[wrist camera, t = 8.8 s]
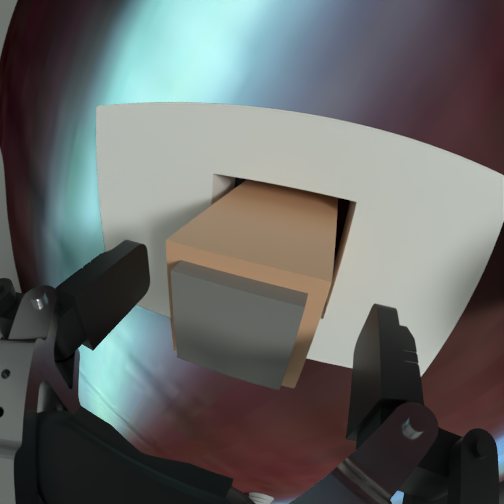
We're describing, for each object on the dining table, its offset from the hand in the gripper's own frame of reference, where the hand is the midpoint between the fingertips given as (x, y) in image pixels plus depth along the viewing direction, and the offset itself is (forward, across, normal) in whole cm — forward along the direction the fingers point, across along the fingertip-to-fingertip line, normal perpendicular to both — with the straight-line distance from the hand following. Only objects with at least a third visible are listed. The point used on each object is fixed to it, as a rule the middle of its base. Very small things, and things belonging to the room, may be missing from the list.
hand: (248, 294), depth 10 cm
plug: (+7, 0, 0) cm, 7 cm away
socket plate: (+7, 0, 0) cm, 7 cm away
